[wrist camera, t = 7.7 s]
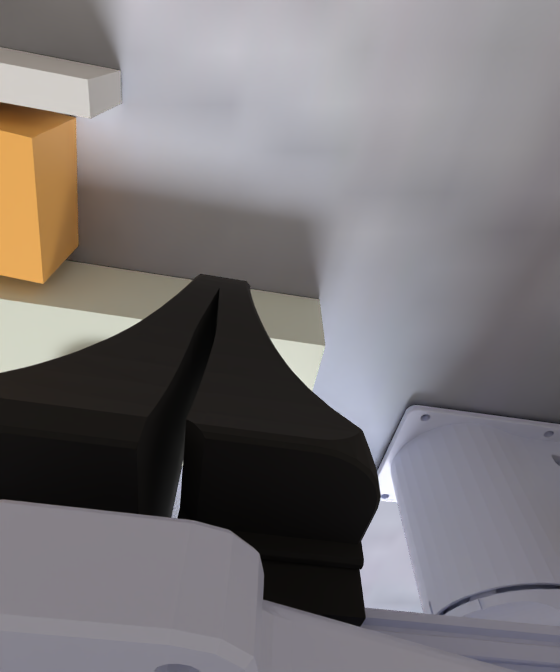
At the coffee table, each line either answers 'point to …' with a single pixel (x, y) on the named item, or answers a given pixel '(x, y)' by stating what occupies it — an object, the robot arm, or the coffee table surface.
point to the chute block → (37, 191)
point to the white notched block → (106, 282)
